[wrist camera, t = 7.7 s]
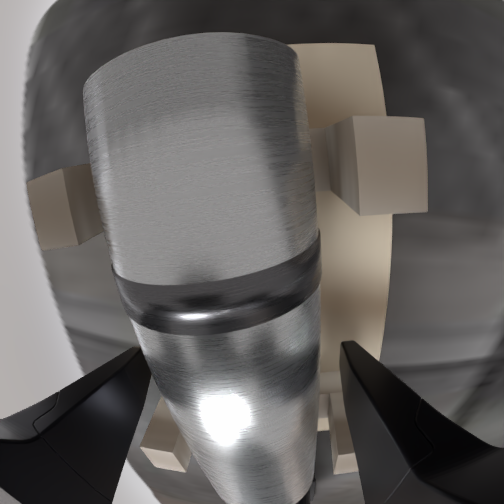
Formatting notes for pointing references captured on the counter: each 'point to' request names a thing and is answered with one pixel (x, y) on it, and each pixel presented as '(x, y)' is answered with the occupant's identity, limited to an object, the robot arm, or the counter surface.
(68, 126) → the counter surface
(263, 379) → the metal tube
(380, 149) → the collar stand
